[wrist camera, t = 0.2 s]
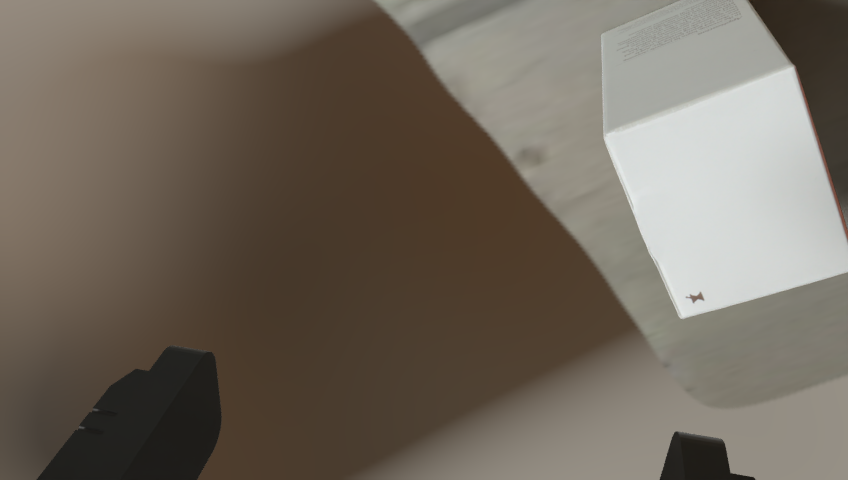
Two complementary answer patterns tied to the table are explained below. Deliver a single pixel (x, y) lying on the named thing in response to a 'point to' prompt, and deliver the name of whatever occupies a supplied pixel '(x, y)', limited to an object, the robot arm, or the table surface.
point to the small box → (719, 155)
